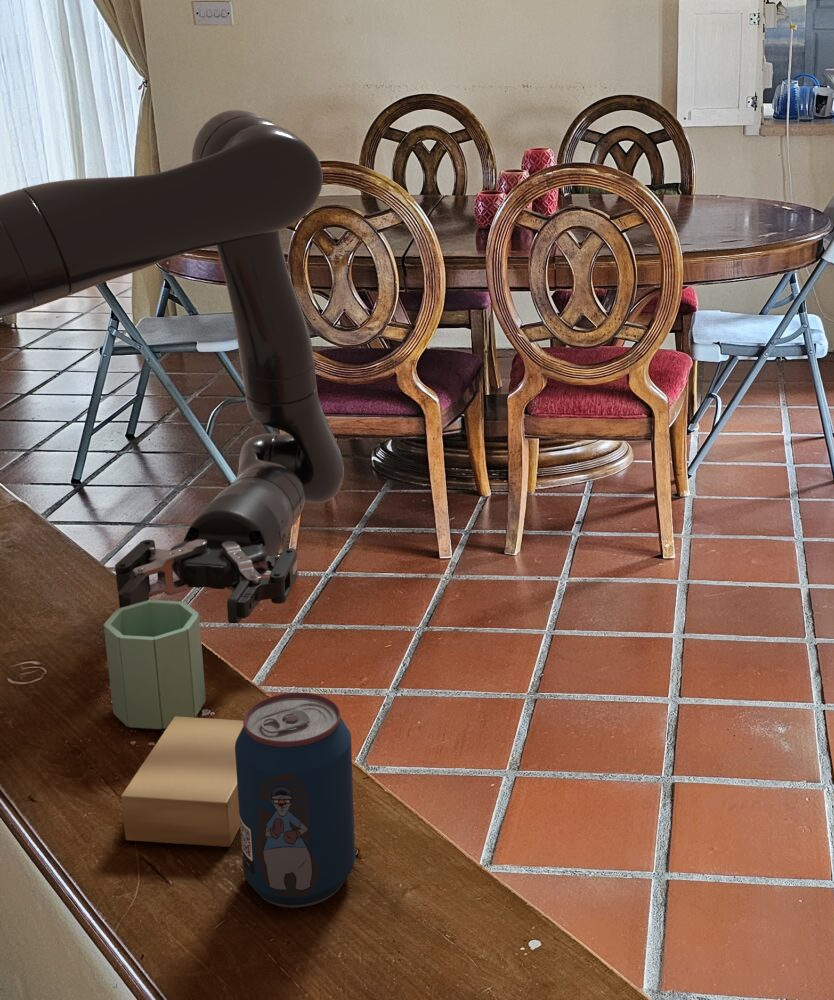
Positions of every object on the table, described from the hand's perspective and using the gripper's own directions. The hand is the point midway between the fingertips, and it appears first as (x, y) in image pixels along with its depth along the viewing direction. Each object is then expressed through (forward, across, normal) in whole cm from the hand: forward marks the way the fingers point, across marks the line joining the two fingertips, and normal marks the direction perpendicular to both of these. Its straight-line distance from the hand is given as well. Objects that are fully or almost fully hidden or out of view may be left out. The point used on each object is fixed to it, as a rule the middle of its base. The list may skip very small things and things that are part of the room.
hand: (179, 609), depth 104 cm
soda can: (+24, +16, +6) cm, 30 cm away
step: (+17, +7, +6) cm, 19 cm away
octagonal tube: (+9, 0, +2) cm, 9 cm away
